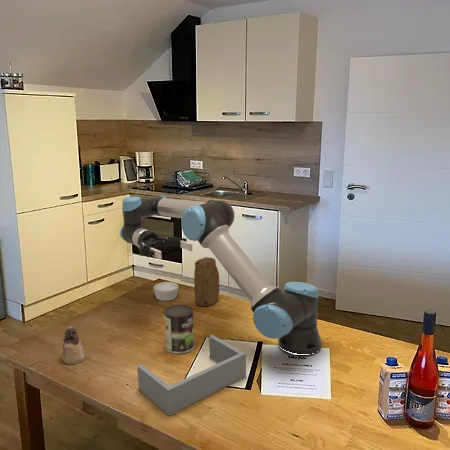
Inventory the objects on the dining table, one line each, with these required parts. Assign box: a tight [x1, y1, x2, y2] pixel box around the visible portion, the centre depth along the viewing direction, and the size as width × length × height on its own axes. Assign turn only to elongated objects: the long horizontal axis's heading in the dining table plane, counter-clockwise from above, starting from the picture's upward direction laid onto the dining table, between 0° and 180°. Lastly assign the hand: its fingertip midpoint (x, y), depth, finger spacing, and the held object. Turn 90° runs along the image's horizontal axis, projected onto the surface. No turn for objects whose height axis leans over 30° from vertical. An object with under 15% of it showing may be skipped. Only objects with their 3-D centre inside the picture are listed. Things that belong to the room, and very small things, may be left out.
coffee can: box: [163, 304, 195, 355], centre depth 163 cm, size 10×10×14 cm
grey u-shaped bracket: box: [136, 334, 247, 417], centre depth 142 cm, size 16×29×8 cm, turn 131°
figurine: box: [62, 325, 86, 365], centre depth 156 cm, size 7×7×12 cm
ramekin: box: [153, 281, 179, 302], centre depth 208 cm, size 11×11×5 cm
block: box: [193, 256, 220, 307], centre depth 199 cm, size 11×8×20 cm
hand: (176, 251), depth 168 cm, fingers open, 13 cm apart
